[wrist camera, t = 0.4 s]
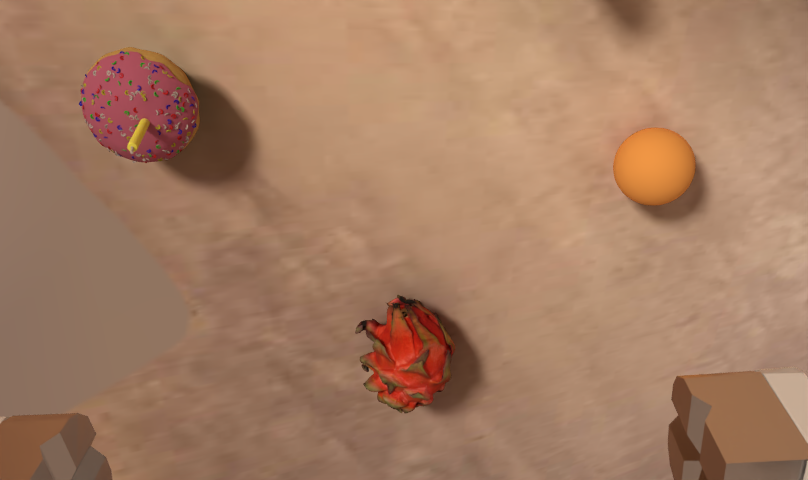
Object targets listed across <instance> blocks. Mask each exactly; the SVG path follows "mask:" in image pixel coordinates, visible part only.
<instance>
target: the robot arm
mask: <svg viewBox="0 0 808 480" xmlns="http://www.w3.org/2000/svg"><path fill="white" fill-rule="evenodd" d="M671 400H672V402H673V404H674V406H675V409H676V411H677V413H678V416H677V417H676V418H675V419H674V420H673V421H672V422H671V423H670V424H669V433H668V451H669V460H670V467H671V470H672V474H673V478H674V480H808V377H807V376H806V375H805V373H804V372H803V371H802V370H800V369H798V368H796V367H784V368H772V369H760V370H755V371H743V372H728V373H714V374H699V375H685V376H677V377H676V379H675V381H674V384H673V391H672V399H671ZM95 435H96V432H95V430H94V428H93V426H92V424H91V422H90V420H89V418H88V416H85V415H82V414H79V413H71V414H46V415H21V416H20V415H19V416H12V417H0V480H112V473H111V468H110V466H109V463H108V461H107V458H106V457H105V456H104V455H102V454H101V453H100V452H98V451H97V450H96V449H94V448H93V447H91V444H92V442H93V440H94V438H95Z"/></svg>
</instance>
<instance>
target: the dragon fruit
mask: <svg viewBox="0 0 808 480" xmlns="http://www.w3.org/2000/svg"><path fill="white" fill-rule="evenodd" d="M386 303H387V302H386ZM387 305H388V306H389V307H388V310H387V324H386V325H383V324H380V323H378V322H377V321H376V320H374V319H372V320H365V321H362V322H360V323H359V325H358V326H357V328H356V332H355V333H356V334H357V333H360V332H361V331H363V330H366V335H367V337H368V338H370V339H371V340H372V341H374V344H373V349H374V352H371V353H368V354H366V355H363V356H361V357H360V362H361V363H363V364H362V368H363V369H364V370H365V371H366V372H369V368H370V369H371V370H373V371H374V374H373V375H372V376H371V377H370V378H369V379H368V380H367V381H366V382H365V383H364V386H365V387H366V389H368V390H369V391H371V392H378V395H377V398H378V401H380V402H381V403H384V404H387V405H388V406H389V407H391V408H393V409H396V410H398V411H399V412H400V413H402V411H403V412H404V413H408V412H411V411H413V410H414V409H415V408H416V407H418V406H427V405H429V404H431V403H432V401H433V394H434V393H435V392H441V391H443V390H444V386H445V383H446V382H448V381H449V380H450V378H451V372H450V362H451V358H452V355H453V353H454V351H455V345H454V342H453V341H452V340H451V338H450V336H449V335H448V333H447V332H446V329H445V327H443V325H442V322H441V320H440V319H439V317H438V315H437V314H436V313H434V315H435V316H434V315H433V314H432V313H431V312H430V311H429V310H428V309H426V308H425V307H423V306H422V305H421V304H420V301H417V300H415V299H414V301H412V300H406V298H405V297H402V296H399V295H397V298H395V299H394V300H392V301H390V302H389V303H387ZM409 305H411V306H409ZM368 367H369V368H368Z"/></svg>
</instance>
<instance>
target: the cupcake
mask: <svg viewBox="0 0 808 480" xmlns="http://www.w3.org/2000/svg"><path fill="white" fill-rule="evenodd" d="M85 76H86V77H85V79H84V82H83V85H82V89H81V101H80V103H81V104H80V103H79V105H80V106H82V111H83V115H84V118H85V122H86V123H87V125H88V127H89V128H90V130H91V132H92V133H93V135H94V137H95V138H96V139H97V141H98V142H99V143H100V144H101V145H102V146H104V147H106V148H107V149H108V150H109V152H110V150H111V151H112V152H114V153H115V155H117V156H122V157H125V158H127V159H130V160H133V163H135V162H137V161H138V162H145V163H147V162H155V161H162V160H168V159H170V158H172V157H174V156H175V155H177V154H178V153H179V152H181V151H182V150H183V149H184V148H185V147H186V146H187V145H188V144H189V143H190V142H191V140H192V139H193V137H194V135H195V133H196V132H197V130H198V128H199V124H200V118H199V100H198V98H197V96H196V94H195V92H194V90H193V88H192V85H191V83H190V81H189V80H188V78H187V76H186V74H185V73H184V72H183V70H181V69H180V68H179V67H178V66H176V65H175V64H174V63H173V62H172V61H170V60H169V59H168V58H166V57H165V56H163V55H161V54H159V53H155V52H151V51H147V50H140V49H136V48H132V47H128V48H123V49H120V50H117V51H114V52H111V53H108V54H106V55H104V56H102V57H101V58H100V59H99V60H98V61H97V62H96V63H95V64H94V65H93V66H92V67H91V68H90V70H89V71H88V73H87V75H86V74H85Z"/></svg>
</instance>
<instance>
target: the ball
mask: <svg viewBox="0 0 808 480" xmlns="http://www.w3.org/2000/svg"><path fill="white" fill-rule="evenodd" d="M613 171H614V177H615V180H616V183H617V185H618V187H619V188H620V189H621V191H622V192H623V193H624V194H625V195H626V196H627V197H629V198H630V199H631V200H633V201H635V202H638V203H640V204H644V205H662V204H666V203H669V202H671V201H673V200H675V199H677V198H678V197H680V196H681V195H682V194H683V193H684V192H685V191H686V190H687V189H688V187H689V186H690V184H691V182H692V180H693V177H694V174H695V157H694V153H693V151H692V149H691V147H690V145H689V144H688V142H687V141H686V140H685V139H684V138H683V137H682V136H680V135H679V134H677V133H675V132H673V131H671V130H668V129H664V128H647V129H643V130H640V131H638V132H636V133H634V134H632V135H631V136H630V137H628V138H627V139H626V140H625V141H624V142H623V143H622V144H621V146H620V147H619V149H618V151H617V153H616V155H615V159H614V165H613Z"/></svg>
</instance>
